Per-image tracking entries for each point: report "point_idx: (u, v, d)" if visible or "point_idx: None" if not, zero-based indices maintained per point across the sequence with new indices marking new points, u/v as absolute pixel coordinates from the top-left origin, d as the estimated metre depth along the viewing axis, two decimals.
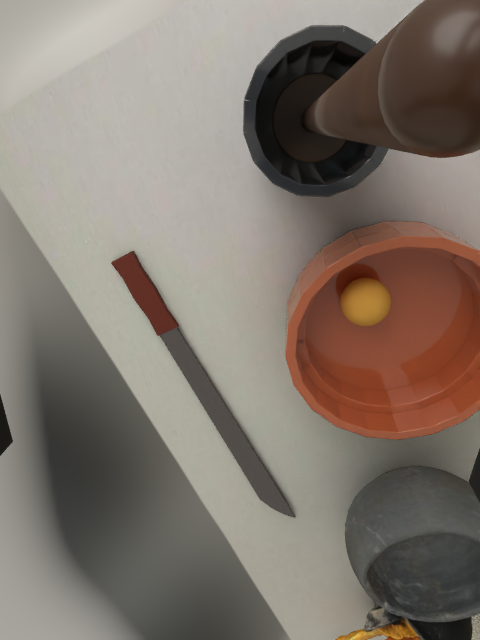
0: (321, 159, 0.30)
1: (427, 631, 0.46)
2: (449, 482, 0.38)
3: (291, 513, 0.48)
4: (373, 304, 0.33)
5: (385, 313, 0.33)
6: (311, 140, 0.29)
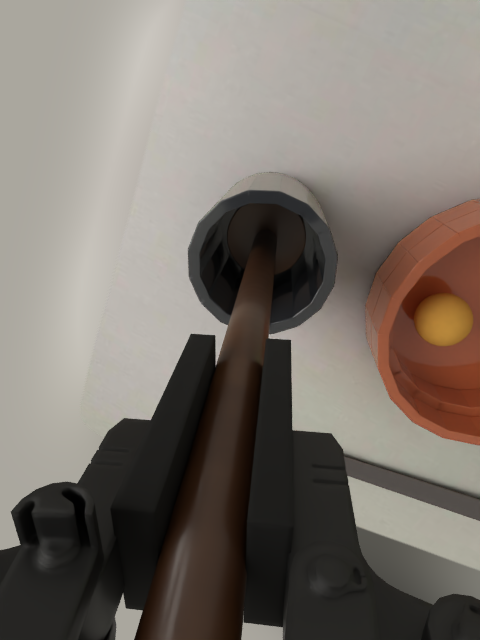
0: (298, 256, 0.30)
1: None
2: None
3: None
4: (450, 323, 0.29)
5: (469, 318, 0.30)
6: (278, 252, 0.30)
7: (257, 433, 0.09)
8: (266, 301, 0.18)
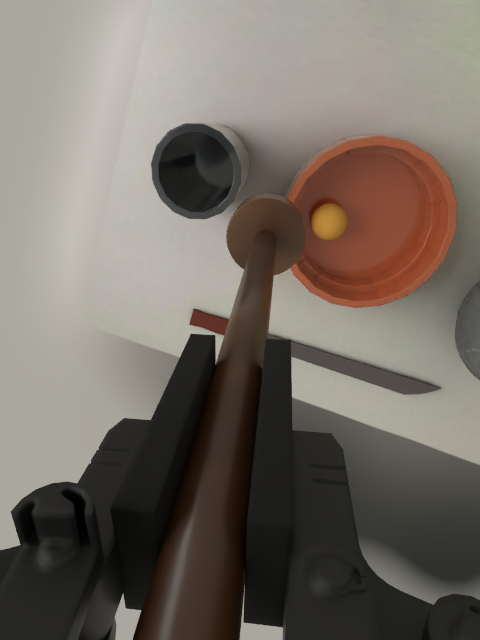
0: (298, 257, 0.30)
1: None
2: None
3: (434, 387, 0.57)
4: (329, 220, 0.45)
5: (342, 217, 0.45)
6: (277, 252, 0.30)
7: (257, 433, 0.09)
8: (265, 301, 0.17)
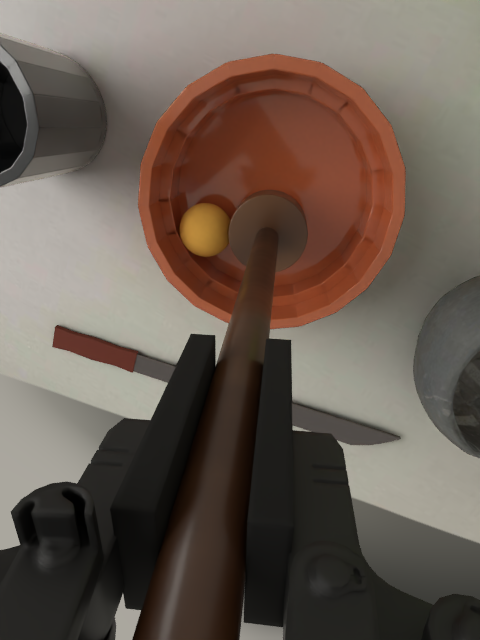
0: (296, 258, 0.30)
1: None
2: (472, 285, 0.29)
3: (392, 436, 0.41)
4: (190, 214, 0.30)
5: (200, 231, 0.30)
6: (277, 251, 0.30)
7: (257, 433, 0.09)
8: (269, 302, 0.17)
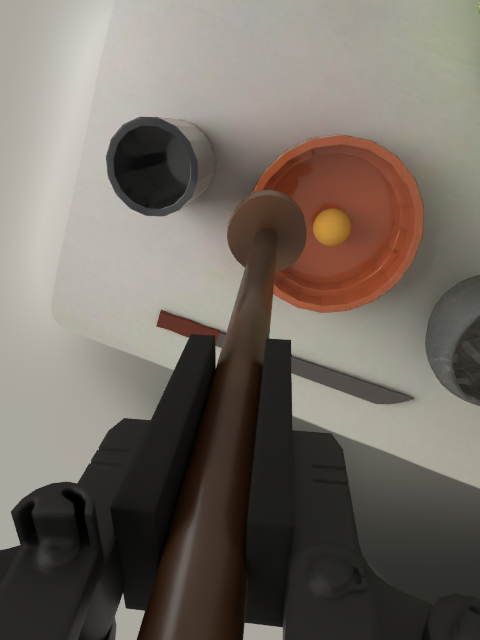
0: (295, 259, 0.30)
1: None
2: (466, 283, 0.43)
3: (407, 397, 0.55)
4: None
5: None
6: (276, 251, 0.30)
7: (257, 433, 0.09)
8: (268, 302, 0.17)
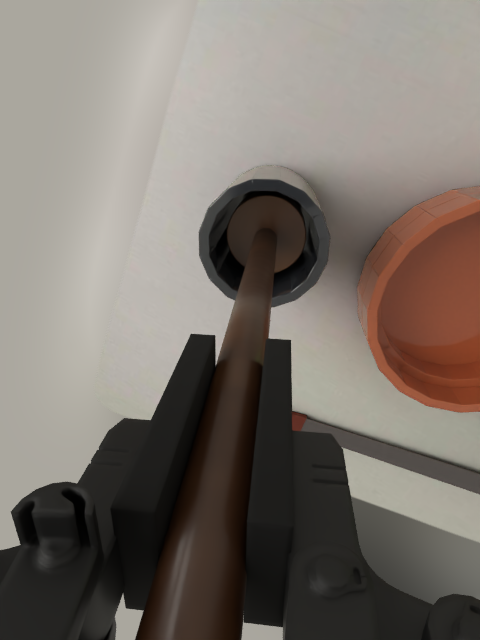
0: (295, 259, 0.30)
1: None
2: None
3: None
4: None
5: None
6: (275, 251, 0.30)
7: (257, 433, 0.09)
8: (268, 303, 0.17)
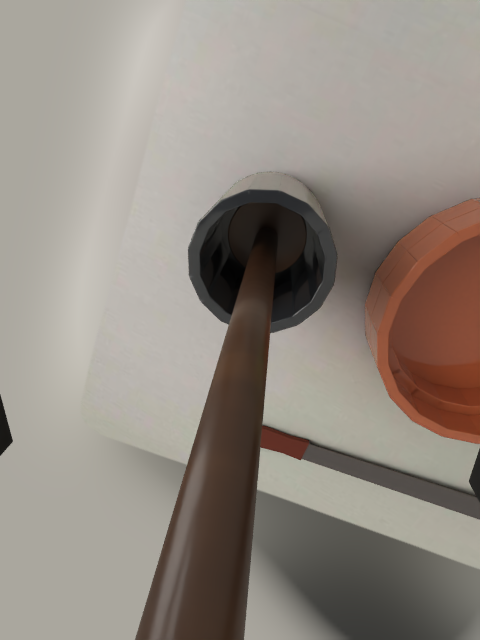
0: (295, 259, 0.30)
1: None
2: None
3: None
4: None
5: None
6: (276, 252, 0.30)
7: None
8: (269, 300, 0.18)
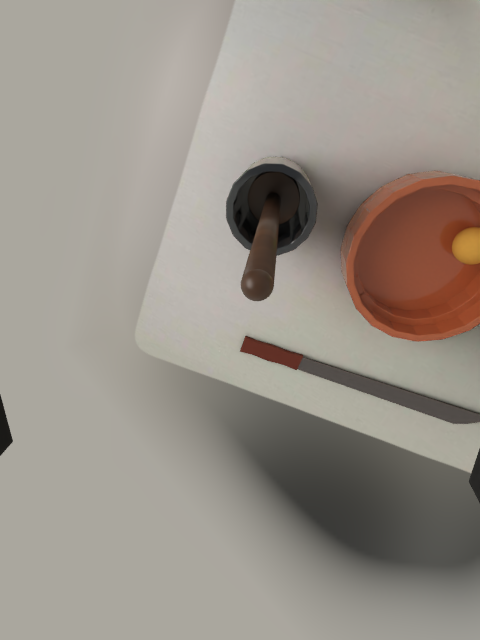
0: (292, 214, 0.45)
1: None
2: None
3: None
4: (459, 235, 0.45)
5: (457, 249, 0.45)
6: (279, 209, 0.45)
7: None
8: (277, 219, 0.33)
